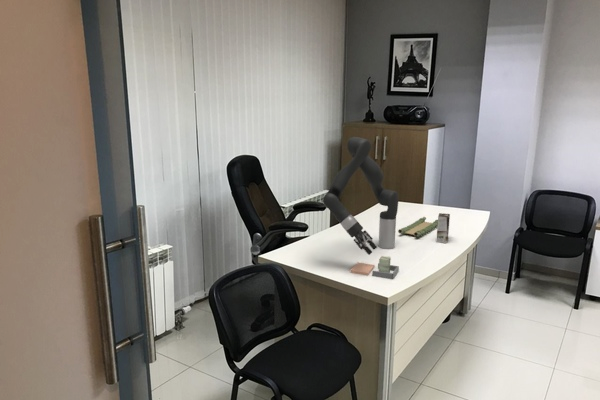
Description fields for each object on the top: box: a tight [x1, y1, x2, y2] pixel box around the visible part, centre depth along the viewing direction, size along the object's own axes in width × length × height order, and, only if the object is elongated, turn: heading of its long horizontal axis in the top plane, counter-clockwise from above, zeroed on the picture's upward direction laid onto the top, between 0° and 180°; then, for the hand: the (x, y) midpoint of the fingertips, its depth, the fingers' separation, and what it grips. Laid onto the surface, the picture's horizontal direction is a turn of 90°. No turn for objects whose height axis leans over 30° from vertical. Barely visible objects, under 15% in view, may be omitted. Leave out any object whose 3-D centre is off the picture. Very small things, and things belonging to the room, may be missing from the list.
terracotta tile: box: [349, 262, 376, 276], centre depth 226 cm, size 12×9×1 cm
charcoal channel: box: [371, 262, 400, 280], centre depth 221 cm, size 12×10×2 cm
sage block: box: [378, 255, 392, 273], centre depth 221 cm, size 4×4×8 cm
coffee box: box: [435, 213, 451, 244], centre depth 271 cm, size 9×6×16 cm
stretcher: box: [397, 216, 438, 238], centre depth 293 cm, size 41×14×5 cm, turn 143°
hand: (373, 251), depth 222 cm, fingers open, 8 cm apart
